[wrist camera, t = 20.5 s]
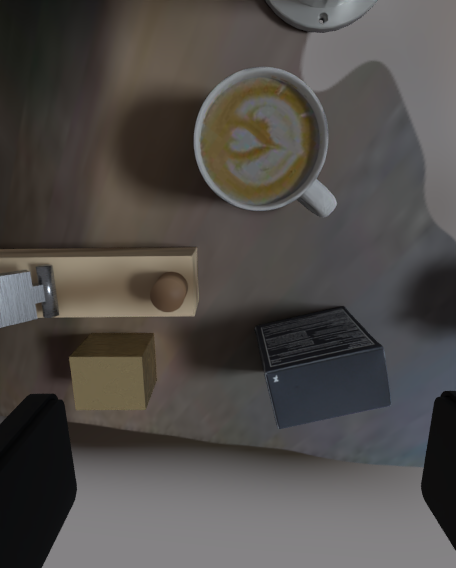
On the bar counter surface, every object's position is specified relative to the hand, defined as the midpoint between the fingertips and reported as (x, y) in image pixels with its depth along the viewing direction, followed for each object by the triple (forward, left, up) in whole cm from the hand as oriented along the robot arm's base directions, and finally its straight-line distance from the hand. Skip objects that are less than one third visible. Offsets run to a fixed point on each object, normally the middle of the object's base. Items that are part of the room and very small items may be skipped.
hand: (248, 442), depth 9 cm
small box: (+11, +8, -31) cm, 33 cm away
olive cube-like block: (+13, -13, -30) cm, 35 cm away
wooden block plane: (+3, -15, -30) cm, 34 cm away
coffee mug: (-8, +3, -31) cm, 32 cm away
